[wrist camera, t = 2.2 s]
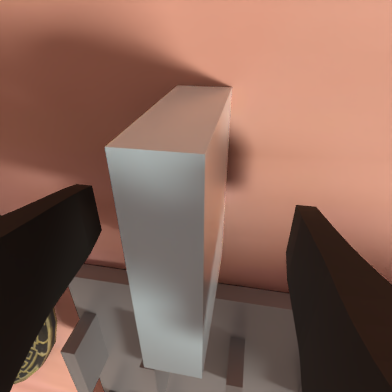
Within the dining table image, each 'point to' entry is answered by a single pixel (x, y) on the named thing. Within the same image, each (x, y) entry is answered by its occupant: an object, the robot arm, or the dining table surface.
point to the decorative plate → (39, 348)
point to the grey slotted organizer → (216, 349)
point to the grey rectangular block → (173, 220)
